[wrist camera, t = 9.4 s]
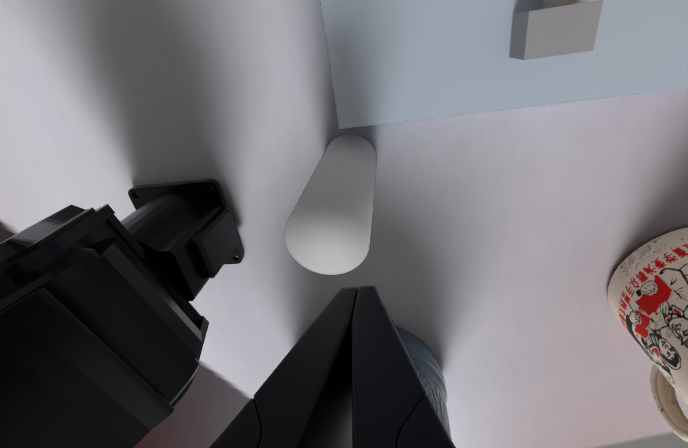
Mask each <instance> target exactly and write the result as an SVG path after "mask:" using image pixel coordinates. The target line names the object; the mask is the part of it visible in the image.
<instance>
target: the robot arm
mask: <svg viewBox="0 0 688 448" xmlns="http://www.w3.org/2000/svg"><path fill="white" fill-rule="evenodd" d="M209 185H211V186H212V187H213V188H214V190H212V189H211V188H210V187H209ZM136 193H138V195H139V196H138V195H137V194H136ZM128 194H129V197H130V199H131V201H132V203H133V205H134V207H135V209H136V211H135V212H133V213H132V214H130V215H129V216H127V217H126V218H125V219H123V220H122V221H119V220H118V219H117V217H116V216H115V215H114V213H115V212H114V211H113V210H112V208H111V207H110V206H109V205H108V204H106V205H104V206H102V207H100V208H98V209H96V210H94V209H93V208H90V209H86V210H85V209H82V208H79V207H76V206H74V205H70V206H68V207H66V208H64V209H62V210H60V211H58V212H56V213H55V214H53V215H51V216H49V217H47V218H45V219H43V220H42V221H40V222H38V223H36V224H34V225H32V226H30V227H29V228H27V229H25V230H23V231H21V232H20V233H18V234H16V235H14V236H13V237H11V238H9V239H7V240H6V241H4V242H2V243H0V448H133V447H134V446H135V445H136V444H137V443H138V442H139V441H140V440H141V439H142V438H144V437H145V436H146V435H147V433H148V432H149V431H150V430H152V429H153V428H154V427H155V426H157V425H158V424H159V423H161V422H162V421H163V420H164V419H165V418H167V417H168V416H169V415H170V414H171V413H172V412H173V410H174V406H175V405H176V403H177V402H178V401H179V400H180V399H181V398H182V397H183V395H184V394H185V392H186V391H187V390H188V388H189V386H190V385H191V383H192V381H193V379H194V376H195V373H196V371H197V369H198V366H199V358H200V355H201V351H202V347H203V344H204V340H205V336H206V332H207V329H208V325H209V322H208V321H207V320H206V318H205V317H204V316H201V315H200V314H199V313H198V312H197V311H196V309H195V308H194V307H193V306H192V305H191V304H190V303H189V301H193V300H194V299H195V297H196V296H197V295H198V293H199V292H200V291H201V289H202V288H203V286H204V285H205V284H206V282H207V281H208V280H209V278H214V277H215V276H216V274H217V273H218V272H219V270H220V269H221V267H222V266H223V265H224V264H238V263H240V262H241V261H242V260H243V258H244V254H243V251H242V248H241V245H240V238H239V235H238V232H237V229H236V227H235V224H234V221H233V218H232V215H231V212H230V210H229V209H228V208H227V205H226V202H225V199H224V196H223V193H222V191H221V188H220V185H219V183H218V182H217V181H215V180H213V179H207V180H196V181H186V182H175V183H165V184H155V185H144V186H135V187H133V188H131V189H130V190H129V191H128ZM234 255H236V256H238V258H237V257H235V256H234ZM209 448H456V447H455V445H454V444H453V442H452V440H451V439H450V437H449V435H448V433H447V431H446V429H445V427H444V425H443V423H442V422H441V420H440V418H439V416H438V414H437V412H436V410H435V408H434V406H433V404H432V402H431V400H430V398H429V396H427V392H426V390H425V388H424V386H423V384H422V382H421V380H420V377H419V375H418V373H417V371H416V369H415V367H414V365H413V363H412V361H411V359H410V357H409V355H408V353H407V351H406V349H405V347H404V345H403V343H402V340H401V338H400V336H399V334H398V332H397V330H396V328H395V326H394V324H393V322H392V320H391V318H390V316H389V314H388V312H387V310H386V308H385V306H384V303H383V301H382V299H381V297H380V295H379V293H378V291H377V289H376V287H375V286H373V285H371V286H360V287H359V288H357V287H347V288H342V289H340V290H339V292H338V293H337V294H336V295H335V296H334V298H333V299H332V300H331V301H330V303H329V304H328V305H327V306H326V307H325V309H324V310H323V311H322V312H321V314H320V315H319V316H318V317H317V319H316V320H315V321H314V322H313V323H312V325H311V326H310V327H309V328H308V330H307V331H306V332H305V333H304V334H303V336H302V337H301V338H300V339H299V341H298V342H297V343H296V344H295V345H294V347H293V348H292V349H291V350H290V352H289V353H288V354H287V355H286V357H285V358H284V359H283V360H282V361H281V363H280V364H279V365H278V366H277V368H276V369H275V370H274V371H273V372H272V374H271V375H270V376H269V377H268V379H267V380H266V381H265V382H264V384H263V385H262V386H261V387H260V388H259V390H258V391H257V392H256V393H255V395H254V399H253V398H252V399H250V400H249V402H248V403H247V404H246V406H245V407H244V408H243V409H242V410H241V412H240V413H239V414H238V415H237V416H236V417H235V419H234V420H233V421H232V422H231V423H230V425H229V426H228V427H227V428H226V429H225V430H224V432H223V433H222V434H221V435H220V436H219V438H217V440H216V441H215V442H214V443H213V444H212V445H211V446H210V447H209Z"/></svg>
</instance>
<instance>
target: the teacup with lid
mask: <svg viewBox="0 0 688 448" xmlns="http://www.w3.org/2000/svg"><path fill="white" fill-rule="evenodd" d="M608 302H609V305H610V308H611V310H612V311H613V313H614V314H615V316H616V317H617V318H618V319H619V321H620V322H621V323H622V324H623V325H624V327H625V328H626V329H627V330H628V332H629V333H630V334H631V335H632V337H633V338H634V339H635V340H636V342H637V343H638V344H639V345H640V346H641V348H642V349H643V350H644V351H645V353H646V354H647V355H648V356H649V358H650V359H651V360H652V361H653V363H654V365H653V367H652V370H651V375H650V384H651V391H652V395H653V398H654V401H655V404H656V406H657V408H658V410H659V412H660V414H661V416H662V417H663V419H664V421H665V422H666V423H667V425H668V426H669V427H670V428H671V430H672V431H673V432H674V433H675V434H676V435H678V436H679V437H680V438H682V439H683V440H685V441H687V442H688V419H687V418H686V417H685V415H684V413H683V412H682V410H681V408H680V406H679V404H678V401H677V398H676V395H675V390H676V391H677V392H678V393H679V395H680V396H681V397H682V398H683V400H684V401H685V402H686V403H687V404H688V227H686V228H682V229H678V230H675V231H672V232H669V233H666V234H664V235H661V236H659V237H657V238H655V239H653V240H651V241H649V242H647V243H645V244H644V245H642V246H641V247H639V248H638V249H636V250H635V251H634V252H632V253H631V254H630V255H629V256H628V257H627V258H626V259H625V260H624V261H623V262H622V263H621V264H620V265H619V266H618V268H617V269H616V271H615V272H614V274H613V276H612V278H611V280H610V283H609V286H608ZM674 388H675V390H674Z"/></svg>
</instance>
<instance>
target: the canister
mask: <svg viewBox="0 0 688 448" xmlns="http://www.w3.org/2000/svg"><path fill="white" fill-rule="evenodd" d="M396 330H397V332H398V334H399V336H400V338H401V340H402V343H403V345H404V347H405V349H406V351H407V353H408V355H409V357H410V359H411V361H412V363H413V365H414V367H415V369H416V371H417V373H418V375H419V377H420V380H421V382H422V384H423V386H424V388H425V390H426V392H427V396H429V398H430V400H431V402H432V404H433V406H434V408H435V410H436V412H437V414H438V416H439V418H440V420H441V422H442V423H443V425H444V427H445V429H446V431H447V433H448V435H449V437H450V439H451V432H450V426H449V420H448V413H447V407H446V403H447V391H446V387H445V381H444V377H443V374H442V372H441V370H440V368H439V365H438V362H437V360H436V358H435V356H434V355H433V353H432V352H431V350H430V349H429V348H428V347H427V346H426V345H425V344H424V343H422V342H421V341H420V340H419V339H417V338H415V337H414V336H412V335H410V334H409V333H406V332H404V331H402V330H399V329H397V328H396ZM451 440H452V439H451Z"/></svg>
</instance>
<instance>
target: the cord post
mask: <svg viewBox="0 0 688 448" xmlns="http://www.w3.org/2000/svg"><path fill="white" fill-rule="evenodd" d="M376 166H377V156H376V152H375V150H374V148H373V146H372V145H371V143H370V142H369V141H368V140H366V139H365V138H363V137H361V136H359V135H355V134H345V135H341V136H339V137H337V138H335V139H334V140H332V141H331V142H330V144H329V145H328V147H327V148H326V150H325V152H324V154H323V156H322V158H321V159H320V161H319V163H318V165H317V167H316V169H315V171H314V172H313V174H312V176H311V178H310V180H309V182H308V184H307V185H306V187H305V189H304V191H303V193H302V195H301V197H300V198H299V200H298V202H297V204H296V206H295V208H294V210H293V211H292V213H291V215H290V217H289V219H288V221H287V223H286V226H285V231H284V239H285V243H286V246H287V249H288V251H289V252H290V254H291V255H292V257H293V258H294V259H295V260H296V261H297V262H298V263H299V264H301V265H302V266H303V267H305V268H307V269H309V270H311V271H313V272H316V273H320V274H327V275H336V274H342V273H346V272H348V271H351V270H353V269H354V268H356V267H357V266H358V265H360V264H361V263H362V261H363V260H364V259H365V257H366V256H367V253H368V250H369V246H370V235H371V224H372V212H373V201H374V189H375V178H376Z"/></svg>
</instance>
